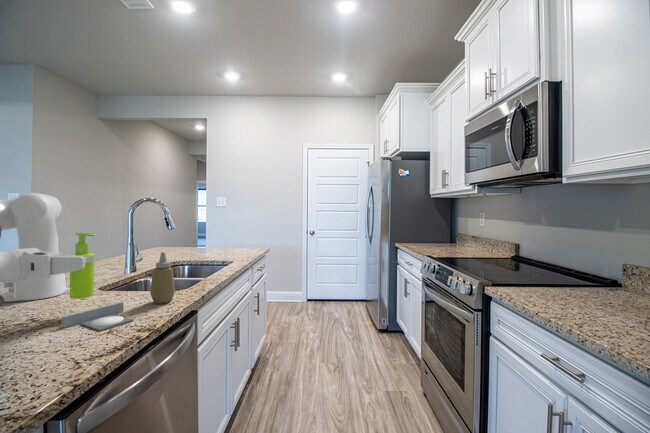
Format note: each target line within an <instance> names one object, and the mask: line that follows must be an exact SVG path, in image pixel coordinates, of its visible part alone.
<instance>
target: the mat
mask: <svg viewBox="0 0 650 433" xmlns="http://www.w3.org/2000/svg"><path fill="white" fill-rule="evenodd" d="M131 322H134V319H133V318H129V317H126V316H123V315H119V314H118V313H116V314H112V315H108V316H105V317H101V318H97V319H94V320H90V321H86V322H83V323H80V325H81V326H84V327H87V328H89V329H92V330H95V331H97V332H103V331H105V330H108V329H112V328H115V327H119V326H122V325H124V324H125V325H126V324H128V323H131Z"/></svg>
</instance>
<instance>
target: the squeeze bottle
mask: <svg viewBox="0 0 650 433" xmlns="http://www.w3.org/2000/svg"><path fill="white" fill-rule="evenodd" d="M175 292H176V286H175V277H174V269H173V267H171V262H170V261H168V258H167V256H166V252H164V251H163V252H161V253H160V257H159V260H158V262H155V268H154V269H153V270H152V275H151V284H150V292H149V293H150V296H151V299H152V301H153V303H154V304H158V305H159V304H168V303H170V302H171V301H173V298H174V296H175Z"/></svg>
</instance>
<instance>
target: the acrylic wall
mask: <svg viewBox="0 0 650 433" xmlns="http://www.w3.org/2000/svg"><path fill="white" fill-rule="evenodd" d="M123 312H124V302H123V301H120V302H115V303H111V304H107V305H103V306H98V307H95V308H91V309H87V310H82V311H79V312H78V311H77V312H75V313H71V314H67V315H63V316H61V328H63V329H65V328H69V327H71V326H75V325H76V326H77V325H79V324H80V325H81V323H83V322H86V321H90V320H94V319H97V318H101V317H105V316H108V315H112V314H119V313H123Z"/></svg>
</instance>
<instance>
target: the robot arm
mask: <svg viewBox="0 0 650 433" xmlns="http://www.w3.org/2000/svg"><path fill="white" fill-rule="evenodd" d="M62 208H63V207H62V203H61V202H60V200H59V199H58V198H56V197H55V196H53V195H50V194H46V193H38V192H28V193H24V194H21V195H20V196H18V197H13V198H4V199H0V239H1V238H2V232H3V231H7V230H13V229H16V232H17V238H18V240H17V241H18V248H14V249H13V248H12V249H8V250H4V251H0V284H1V283H3V284H4V285H3V287H4V288H5V289H6V288H8V290H3V291H1V292H0V296H1V299H3V301H4V302H16V301H17V302H19V301H34V300H40V299H47V298H52V297H57V296H60V295H62V294H64V293H66V292H68V291H70V286H69V287H68V286H66V285H67V284H66V277H65V276H66V275H65V274H66V273H70V272H72V271H77V270H81V269H83V268H84V267H85V263H87V262H93V261H94V262H95V256H94V257H93V256H85V257H83V256H77V255H73V254H74V253H73V254H71V253H70V254H69V253H63V252H59V250H60V248H59V234H58V231H57V225H56V218H58V217H59V216H60V215H61V213H62Z"/></svg>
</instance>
